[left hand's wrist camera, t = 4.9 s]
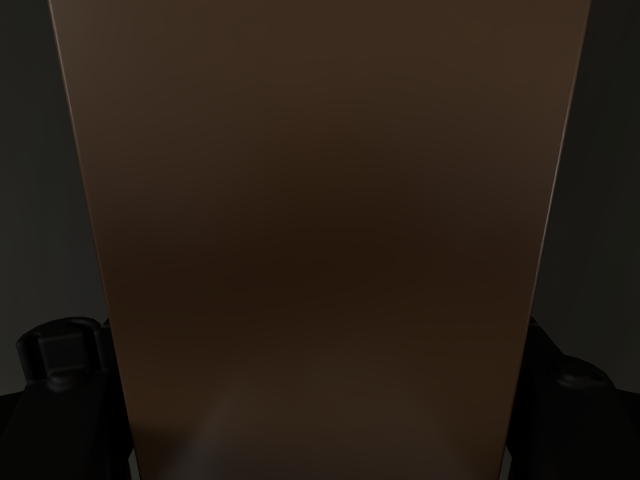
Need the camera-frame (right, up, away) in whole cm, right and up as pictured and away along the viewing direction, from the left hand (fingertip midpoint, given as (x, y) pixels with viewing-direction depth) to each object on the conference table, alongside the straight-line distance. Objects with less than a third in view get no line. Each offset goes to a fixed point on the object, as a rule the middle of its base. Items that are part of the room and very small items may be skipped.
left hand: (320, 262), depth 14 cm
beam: (0, +24, -9) cm, 25 cm away
